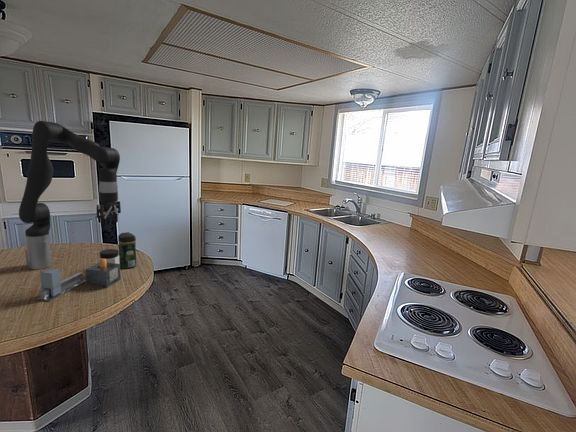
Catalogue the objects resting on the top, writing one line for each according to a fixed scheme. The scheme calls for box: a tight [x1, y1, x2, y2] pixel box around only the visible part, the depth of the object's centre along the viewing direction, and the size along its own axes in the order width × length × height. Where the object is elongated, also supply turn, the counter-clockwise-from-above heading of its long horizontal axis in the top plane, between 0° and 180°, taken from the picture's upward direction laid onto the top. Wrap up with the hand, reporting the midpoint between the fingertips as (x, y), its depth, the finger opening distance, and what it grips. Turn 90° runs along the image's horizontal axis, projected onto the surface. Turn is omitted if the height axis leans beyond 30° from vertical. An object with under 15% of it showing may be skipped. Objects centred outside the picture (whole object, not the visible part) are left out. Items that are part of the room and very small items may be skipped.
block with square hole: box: [85, 262, 122, 288], centre depth 142 cm, size 10×10×8 cm
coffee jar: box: [117, 231, 137, 269], centre depth 163 cm, size 10×8×19 cm
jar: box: [98, 248, 120, 264], centre depth 152 cm, size 9×8×12 cm
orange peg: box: [98, 259, 107, 268], centre depth 141 cm, size 3×3×8 cm
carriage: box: [39, 268, 62, 296], centre depth 126 cm, size 5×4×10 cm
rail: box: [35, 271, 86, 302], centre depth 132 cm, size 6×21×4 cm, turn 175°
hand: (109, 224), depth 143 cm, fingers open, 8 cm apart
